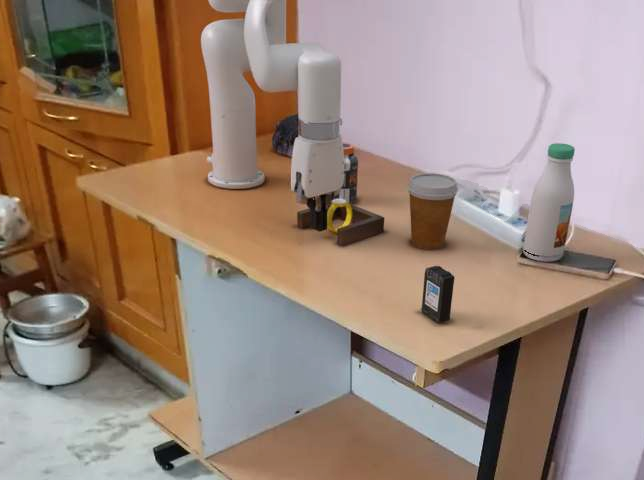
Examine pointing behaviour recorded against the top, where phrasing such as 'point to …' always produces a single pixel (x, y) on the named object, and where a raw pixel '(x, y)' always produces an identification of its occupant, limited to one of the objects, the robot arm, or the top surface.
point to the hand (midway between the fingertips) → (318, 228)
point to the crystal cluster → (286, 135)
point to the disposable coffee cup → (430, 208)
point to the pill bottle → (349, 175)
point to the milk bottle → (551, 206)
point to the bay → (360, 229)
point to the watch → (333, 207)
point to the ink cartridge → (437, 293)
